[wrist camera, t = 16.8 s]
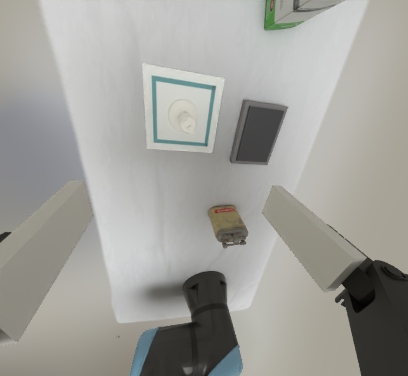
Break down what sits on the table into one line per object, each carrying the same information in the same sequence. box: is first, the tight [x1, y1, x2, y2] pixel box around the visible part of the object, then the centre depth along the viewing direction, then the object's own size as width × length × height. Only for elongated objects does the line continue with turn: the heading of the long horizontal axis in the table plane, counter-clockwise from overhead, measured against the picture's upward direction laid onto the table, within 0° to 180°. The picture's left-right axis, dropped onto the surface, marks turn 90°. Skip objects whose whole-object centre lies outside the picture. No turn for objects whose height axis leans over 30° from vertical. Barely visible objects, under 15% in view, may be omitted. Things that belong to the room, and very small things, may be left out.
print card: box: [142, 63, 225, 153], centre depth 26 cm, size 12×12×1 cm
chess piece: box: [168, 99, 198, 135], centre depth 22 cm, size 5×5×10 cm
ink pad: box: [230, 100, 288, 165], centre depth 30 cm, size 11×8×2 cm
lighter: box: [208, 205, 248, 248], centre depth 35 cm, size 7×4×10 cm, turn 89°
